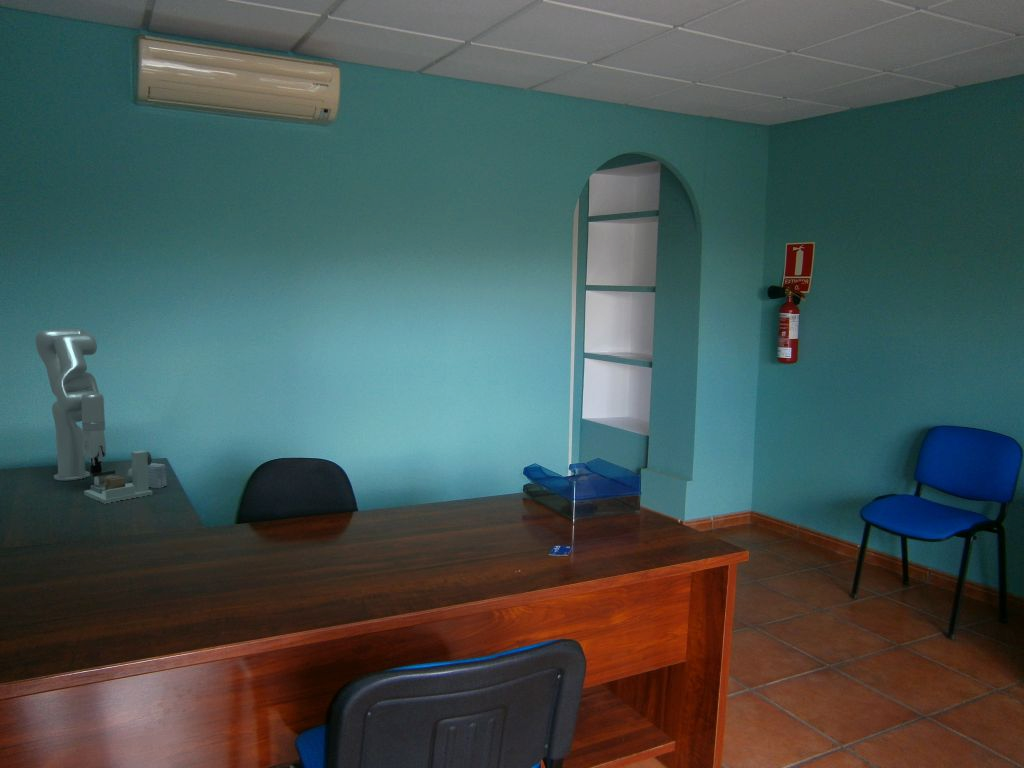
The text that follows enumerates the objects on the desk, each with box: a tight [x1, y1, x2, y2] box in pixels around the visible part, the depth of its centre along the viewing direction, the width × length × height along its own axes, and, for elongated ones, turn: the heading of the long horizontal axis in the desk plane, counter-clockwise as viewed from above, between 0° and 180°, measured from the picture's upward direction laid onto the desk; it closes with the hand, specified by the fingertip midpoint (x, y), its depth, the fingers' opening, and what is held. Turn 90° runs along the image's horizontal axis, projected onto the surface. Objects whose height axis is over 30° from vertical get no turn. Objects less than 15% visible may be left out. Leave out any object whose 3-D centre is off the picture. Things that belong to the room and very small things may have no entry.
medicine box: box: [148, 462, 167, 489], centre depth 303 cm, size 8×4×9 cm, turn 71°
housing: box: [105, 475, 126, 490], centre depth 286 cm, size 5×5×6 cm
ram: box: [90, 469, 116, 490], centre depth 292 cm, size 4×8×6 cm, turn 139°
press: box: [83, 449, 154, 505], centre depth 290 cm, size 18×18×16 cm
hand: (96, 475), depth 296 cm, fingers closed
